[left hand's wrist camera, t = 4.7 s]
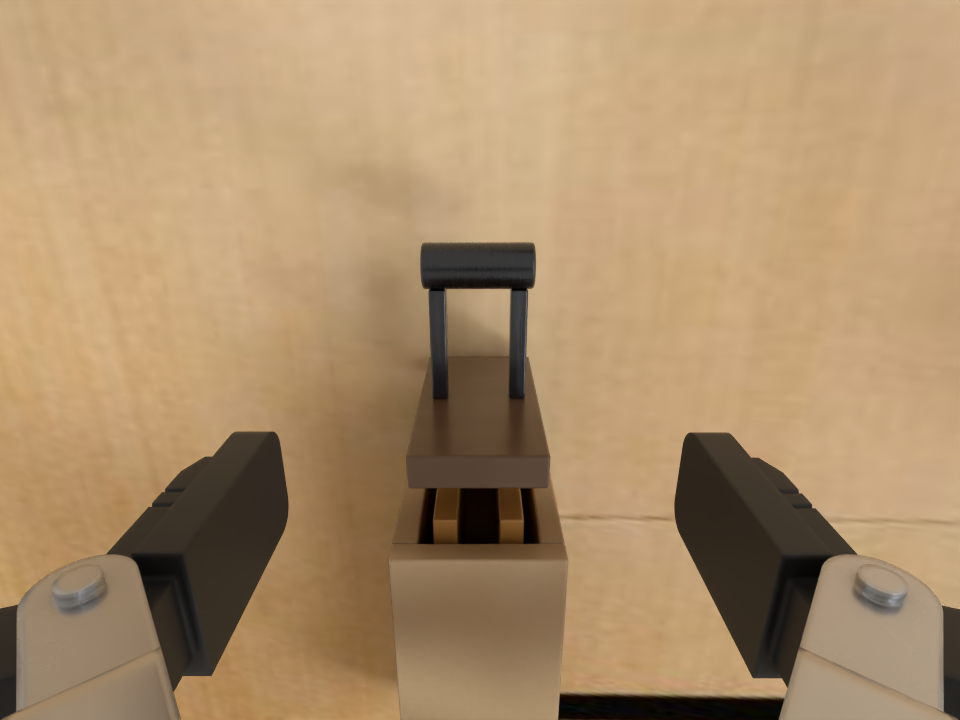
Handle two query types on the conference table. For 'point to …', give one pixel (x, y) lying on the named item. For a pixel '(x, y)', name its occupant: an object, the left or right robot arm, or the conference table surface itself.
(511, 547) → the cabinet
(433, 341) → the drawer
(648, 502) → the conference table surface
